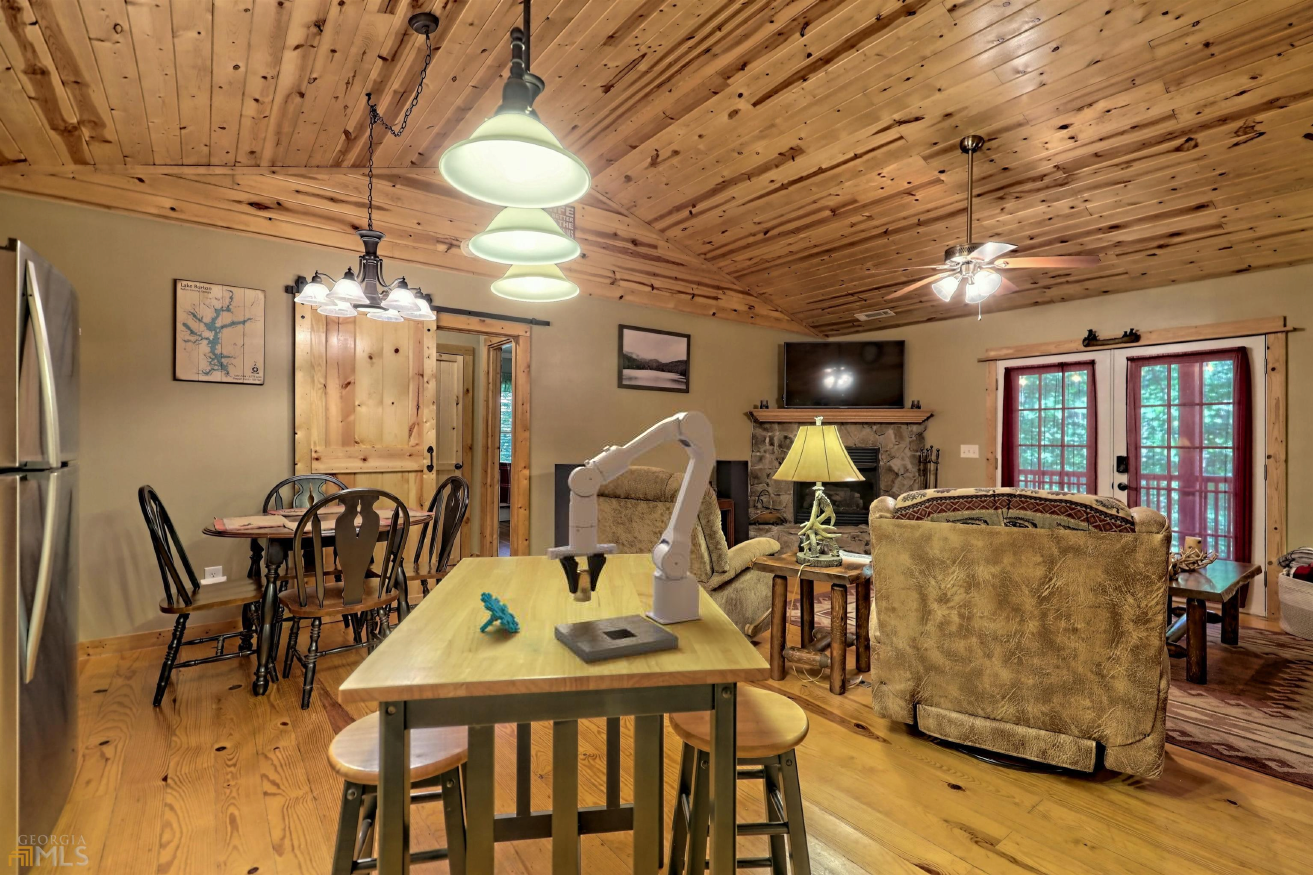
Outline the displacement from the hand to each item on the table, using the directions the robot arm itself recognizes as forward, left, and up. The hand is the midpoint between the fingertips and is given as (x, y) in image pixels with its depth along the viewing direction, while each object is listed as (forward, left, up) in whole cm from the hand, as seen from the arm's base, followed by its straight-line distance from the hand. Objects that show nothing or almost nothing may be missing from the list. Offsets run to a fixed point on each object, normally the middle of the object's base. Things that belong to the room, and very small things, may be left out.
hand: (582, 591), depth 130 cm
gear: (+16, -2, -7) cm, 18 cm away
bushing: (0, 0, -2) cm, 2 cm away
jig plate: (-1, +14, -6) cm, 15 cm away
